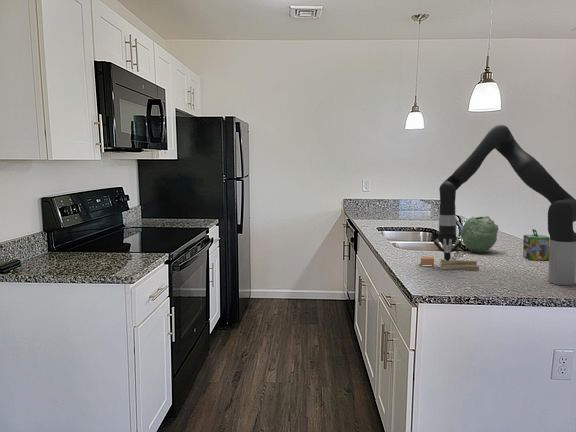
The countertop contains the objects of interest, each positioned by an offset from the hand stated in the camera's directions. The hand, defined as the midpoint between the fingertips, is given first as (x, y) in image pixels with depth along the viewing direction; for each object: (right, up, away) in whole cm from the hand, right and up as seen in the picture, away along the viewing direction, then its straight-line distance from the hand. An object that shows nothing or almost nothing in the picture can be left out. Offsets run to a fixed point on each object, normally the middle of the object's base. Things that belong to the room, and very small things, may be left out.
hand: (447, 260), depth 196 cm
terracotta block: (-8, -3, +5) cm, 10 cm away
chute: (+5, -3, -1) cm, 6 cm away
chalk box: (+48, -1, +10) cm, 49 cm away
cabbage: (+28, +1, +29) cm, 41 cm away
